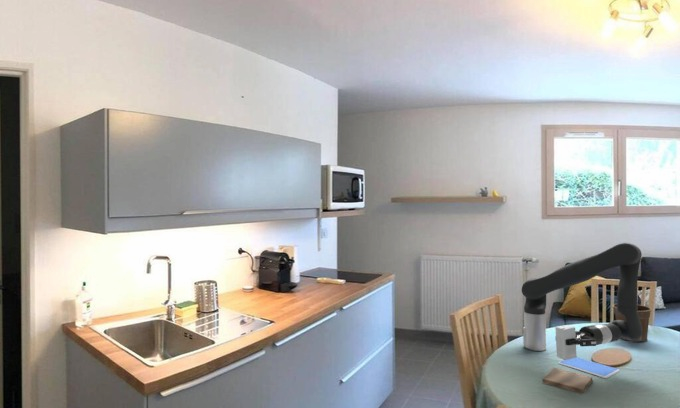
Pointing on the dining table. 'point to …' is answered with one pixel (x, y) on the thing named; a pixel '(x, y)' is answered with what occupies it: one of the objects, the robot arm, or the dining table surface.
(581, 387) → the walnut board
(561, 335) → the skincare box
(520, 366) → the dining table surface
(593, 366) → the tablet computer
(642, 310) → the plant pot
